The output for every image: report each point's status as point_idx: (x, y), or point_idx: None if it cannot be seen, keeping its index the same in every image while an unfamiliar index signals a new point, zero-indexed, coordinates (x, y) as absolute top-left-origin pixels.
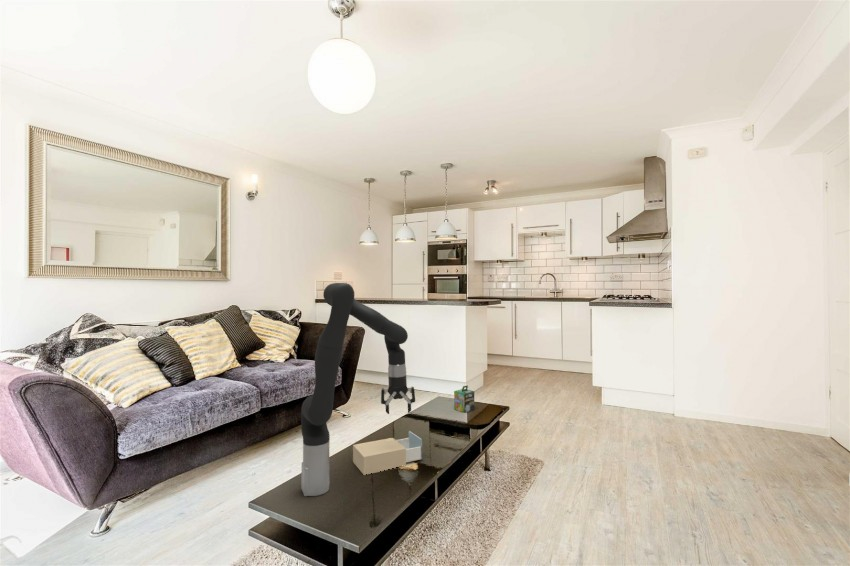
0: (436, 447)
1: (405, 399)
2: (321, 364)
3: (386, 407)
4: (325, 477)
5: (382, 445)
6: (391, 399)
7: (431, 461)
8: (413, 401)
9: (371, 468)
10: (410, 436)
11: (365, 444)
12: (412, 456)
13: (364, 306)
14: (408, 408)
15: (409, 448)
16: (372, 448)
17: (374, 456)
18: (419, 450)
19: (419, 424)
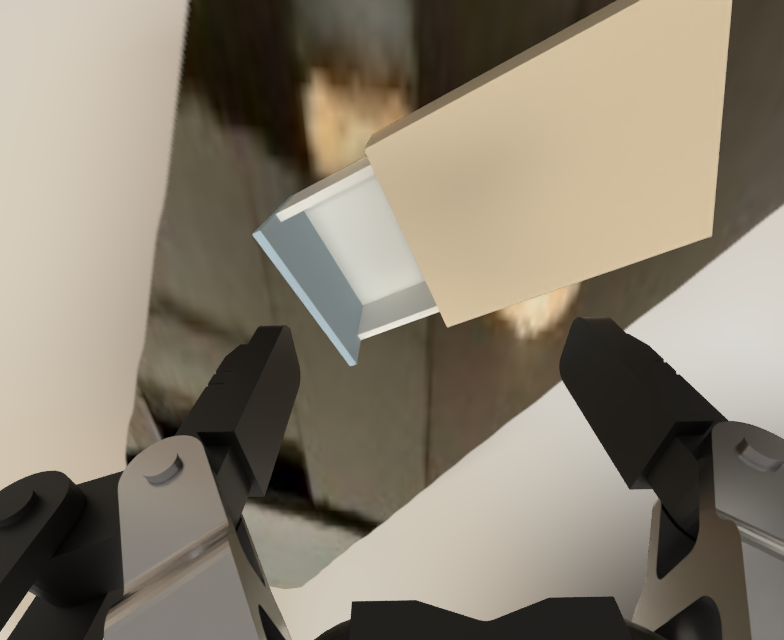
0: (252, 331)
1: (213, 566)
2: None
3: (684, 395)
4: None
5: (521, 215)
6: (766, 592)
7: (244, 187)
8: (44, 493)
9: (600, 12)
10: (347, 332)
11: (627, 239)
12: (333, 177)
13: None
14: (252, 366)
15: (361, 304)
16: (602, 163)
17: (617, 11)
18: (289, 204)
19: (341, 486)
